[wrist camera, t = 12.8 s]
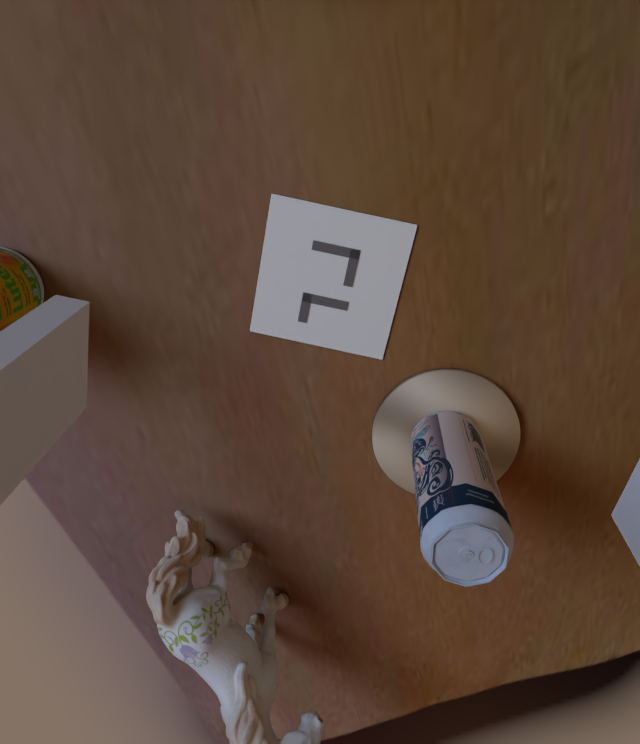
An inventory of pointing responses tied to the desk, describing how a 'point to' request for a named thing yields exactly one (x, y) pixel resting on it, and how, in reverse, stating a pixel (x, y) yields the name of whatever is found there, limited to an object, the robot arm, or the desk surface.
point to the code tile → (330, 276)
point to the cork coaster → (443, 394)
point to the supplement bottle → (17, 287)
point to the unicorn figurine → (222, 636)
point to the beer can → (458, 501)
